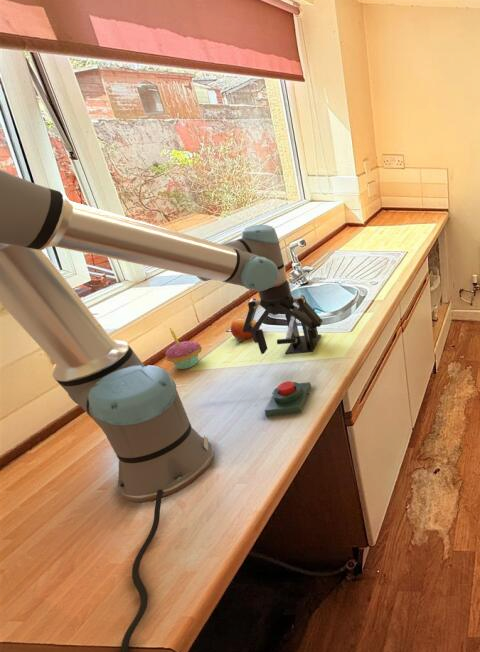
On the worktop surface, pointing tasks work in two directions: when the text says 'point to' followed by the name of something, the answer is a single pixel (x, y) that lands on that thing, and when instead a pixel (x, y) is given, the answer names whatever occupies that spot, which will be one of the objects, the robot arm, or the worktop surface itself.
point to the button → (286, 388)
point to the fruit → (241, 329)
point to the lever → (289, 332)
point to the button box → (288, 401)
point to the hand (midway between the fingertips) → (289, 349)
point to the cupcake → (183, 353)
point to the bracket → (299, 338)
